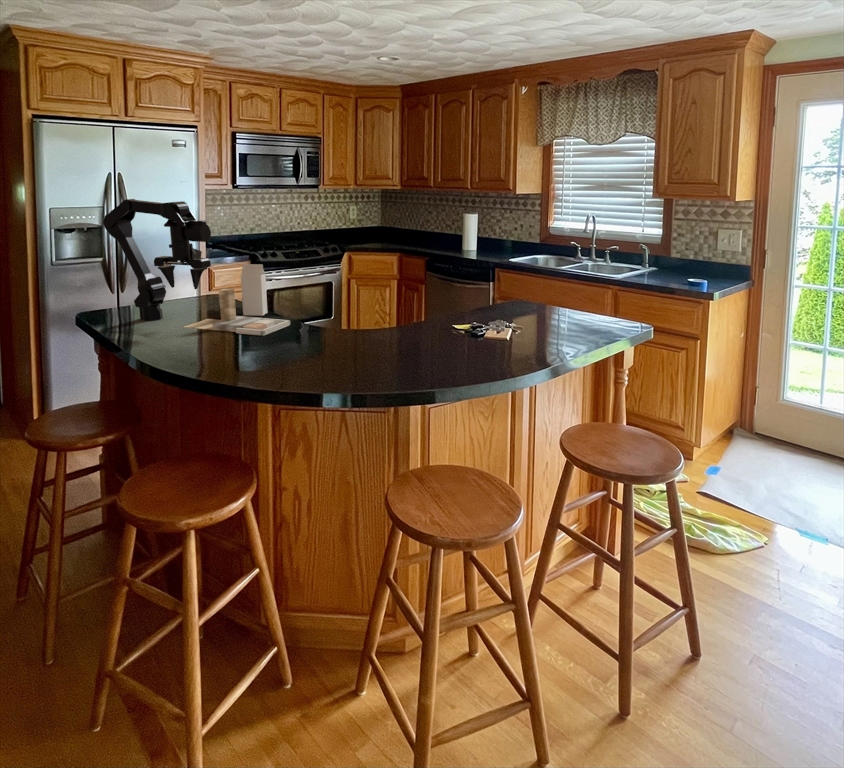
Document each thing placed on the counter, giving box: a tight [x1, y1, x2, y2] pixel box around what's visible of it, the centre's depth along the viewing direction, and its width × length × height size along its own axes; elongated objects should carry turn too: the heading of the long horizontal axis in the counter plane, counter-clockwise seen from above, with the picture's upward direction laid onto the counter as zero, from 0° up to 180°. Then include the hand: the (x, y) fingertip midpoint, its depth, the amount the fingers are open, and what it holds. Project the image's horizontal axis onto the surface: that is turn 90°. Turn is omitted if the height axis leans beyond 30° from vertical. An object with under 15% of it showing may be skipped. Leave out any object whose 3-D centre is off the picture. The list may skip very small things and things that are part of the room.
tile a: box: [254, 320, 276, 329], centre depth 248 cm, size 5×5×2 cm
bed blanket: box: [213, 288, 264, 332], centre depth 246 cm, size 11×13×12 cm
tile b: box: [243, 323, 265, 330], centre depth 243 cm, size 5×5×2 cm
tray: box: [235, 317, 291, 336], centre depth 245 cm, size 10×17×3 cm, turn 160°
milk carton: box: [240, 263, 268, 317], centre depth 267 cm, size 7×7×19 cm
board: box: [183, 318, 236, 333], centre depth 250 cm, size 21×14×2 cm, turn 70°
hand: (184, 288), depth 251 cm, fingers open, 9 cm apart
